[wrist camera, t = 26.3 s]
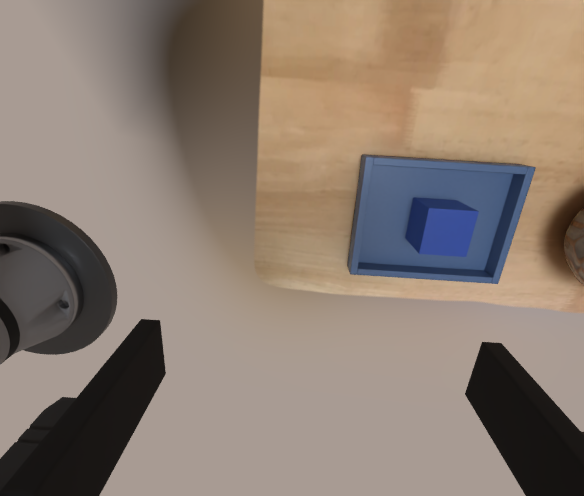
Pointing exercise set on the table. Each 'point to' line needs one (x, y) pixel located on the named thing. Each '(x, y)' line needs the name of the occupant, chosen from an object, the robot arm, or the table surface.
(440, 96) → the table surface
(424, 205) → the blue block
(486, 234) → the blue tray
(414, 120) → the table surface
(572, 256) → the vase
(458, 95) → the table surface
